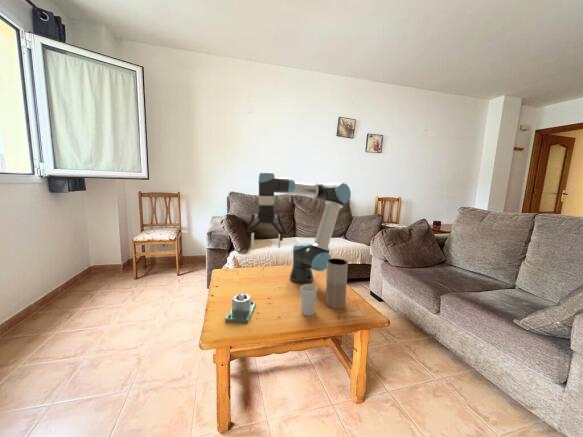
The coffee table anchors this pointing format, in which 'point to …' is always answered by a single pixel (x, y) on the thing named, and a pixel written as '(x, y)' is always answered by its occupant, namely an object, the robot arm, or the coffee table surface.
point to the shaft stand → (240, 317)
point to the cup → (308, 299)
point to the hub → (241, 304)
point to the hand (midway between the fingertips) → (265, 246)
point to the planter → (336, 283)
